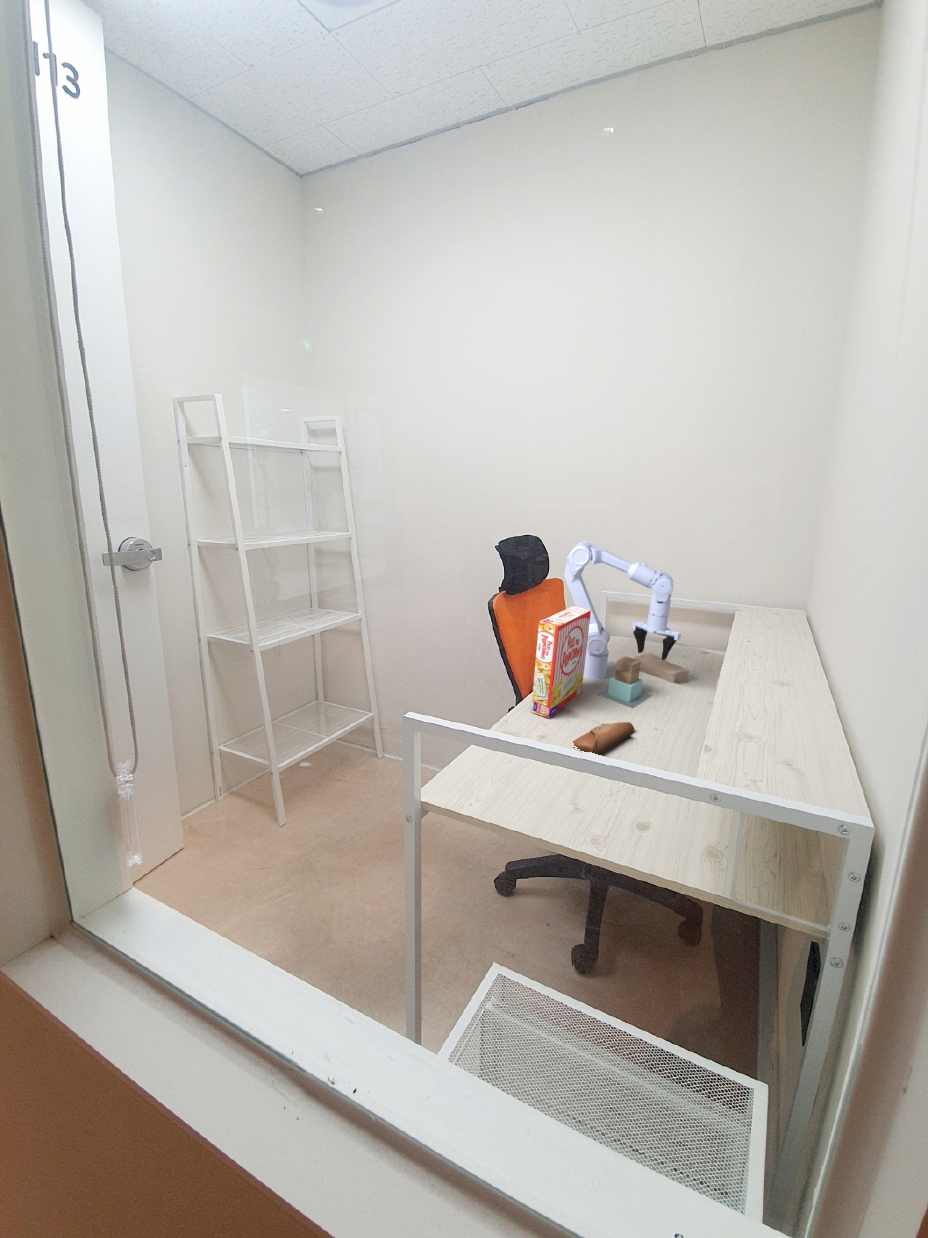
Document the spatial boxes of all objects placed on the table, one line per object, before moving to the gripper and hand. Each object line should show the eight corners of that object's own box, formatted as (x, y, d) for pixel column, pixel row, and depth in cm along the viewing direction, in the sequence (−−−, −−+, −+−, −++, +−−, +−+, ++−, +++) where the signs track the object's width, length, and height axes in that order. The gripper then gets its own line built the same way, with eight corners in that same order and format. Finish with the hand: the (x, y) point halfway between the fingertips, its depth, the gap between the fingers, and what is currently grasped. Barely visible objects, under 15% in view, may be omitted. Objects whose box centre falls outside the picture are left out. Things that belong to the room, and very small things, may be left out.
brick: (688, 681, 172) (691, 668, 171) (671, 687, 168) (673, 673, 167) (648, 664, 186) (649, 651, 184) (631, 668, 182) (633, 655, 180)
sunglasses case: (606, 722, 145) (619, 707, 141) (624, 742, 142) (638, 728, 138) (566, 745, 133) (579, 730, 129) (585, 768, 130) (599, 754, 126)
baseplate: (595, 697, 159) (596, 694, 159) (616, 685, 167) (616, 682, 167) (632, 711, 151) (632, 708, 151) (652, 698, 159) (652, 695, 159)
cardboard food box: (549, 719, 145) (558, 626, 137) (529, 712, 149) (536, 621, 140) (582, 694, 161) (591, 608, 152) (563, 688, 165) (571, 604, 156)
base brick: (607, 694, 159) (609, 679, 157) (619, 687, 164) (621, 672, 162) (629, 702, 154) (631, 686, 153) (640, 695, 159) (643, 679, 158)
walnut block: (614, 679, 157) (616, 660, 156) (622, 674, 161) (625, 656, 159) (629, 684, 154) (632, 665, 152) (638, 679, 158) (640, 661, 156)
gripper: (629, 610, 162) (624, 652, 166) (676, 622, 152) (669, 666, 157) (640, 606, 167) (635, 646, 171) (686, 617, 157) (679, 659, 162)
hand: (652, 655), depth 164 cm, fingers open, 7 cm apart
